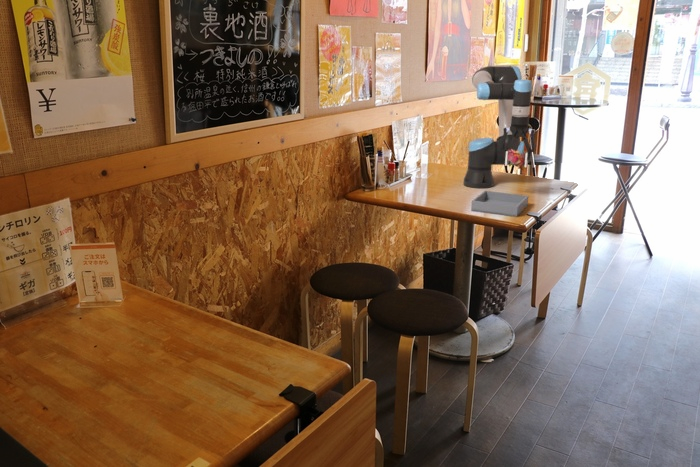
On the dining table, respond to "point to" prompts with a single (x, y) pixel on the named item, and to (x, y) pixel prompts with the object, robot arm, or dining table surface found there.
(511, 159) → the flower
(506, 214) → the bin
